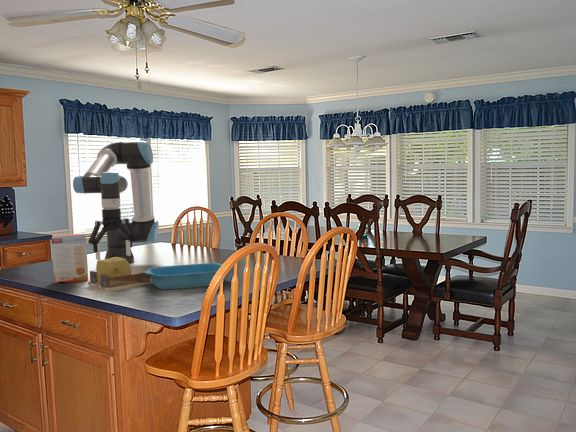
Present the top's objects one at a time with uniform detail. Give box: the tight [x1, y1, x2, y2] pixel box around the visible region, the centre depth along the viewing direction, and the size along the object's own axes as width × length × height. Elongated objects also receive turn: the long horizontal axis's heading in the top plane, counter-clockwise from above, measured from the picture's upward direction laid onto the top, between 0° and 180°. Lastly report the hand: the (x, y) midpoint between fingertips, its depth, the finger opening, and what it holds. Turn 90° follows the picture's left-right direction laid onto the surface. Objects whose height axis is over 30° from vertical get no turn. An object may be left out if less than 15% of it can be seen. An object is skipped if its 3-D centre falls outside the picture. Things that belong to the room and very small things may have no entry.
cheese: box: [95, 257, 132, 283], centre depth 222 cm, size 10×11×10 cm
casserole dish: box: [144, 262, 228, 291], centre depth 222 cm, size 37×22×7 cm, turn 113°
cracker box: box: [51, 233, 89, 284], centre depth 230 cm, size 14×6×21 cm, turn 110°
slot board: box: [87, 269, 154, 292], centre depth 227 cm, size 20×28×6 cm
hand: (113, 257), depth 222 cm, fingers open, 13 cm apart
